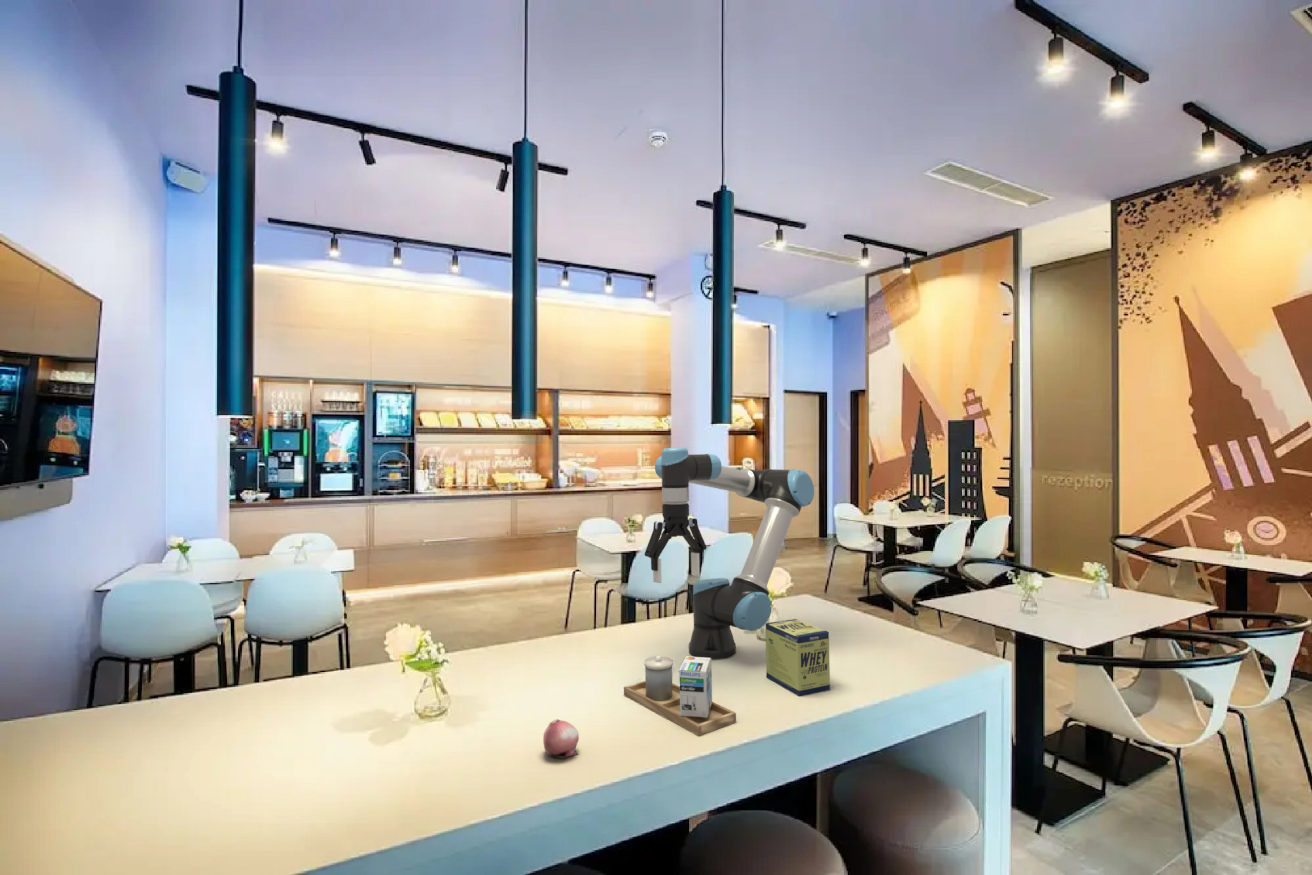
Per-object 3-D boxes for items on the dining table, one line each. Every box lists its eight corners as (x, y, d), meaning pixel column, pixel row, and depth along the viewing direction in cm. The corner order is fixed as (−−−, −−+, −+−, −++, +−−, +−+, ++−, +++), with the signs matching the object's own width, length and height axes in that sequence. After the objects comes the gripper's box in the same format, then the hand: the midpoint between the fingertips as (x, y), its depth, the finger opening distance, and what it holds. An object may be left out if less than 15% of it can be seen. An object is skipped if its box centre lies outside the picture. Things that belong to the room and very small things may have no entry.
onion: (544, 751, 135) (549, 716, 138) (579, 755, 135) (583, 719, 138) (537, 757, 128) (542, 719, 130) (575, 760, 128) (579, 722, 130)
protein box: (799, 697, 161) (798, 636, 161) (765, 677, 175) (764, 622, 176) (831, 690, 165) (830, 631, 166) (795, 671, 179) (794, 617, 180)
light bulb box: (707, 718, 144) (707, 671, 144) (679, 716, 145) (678, 670, 145) (712, 700, 154) (712, 656, 154) (686, 698, 155) (685, 655, 156)
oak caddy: (659, 685, 171) (658, 676, 171) (736, 722, 146) (735, 712, 146) (623, 695, 164) (623, 686, 164) (698, 736, 140) (698, 726, 140)
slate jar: (661, 688, 166) (661, 649, 167) (679, 696, 160) (678, 656, 161) (639, 695, 162) (638, 655, 162) (656, 703, 156) (655, 662, 156)
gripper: (700, 499, 184) (701, 571, 183) (631, 504, 169) (632, 583, 168) (717, 500, 178) (719, 575, 177) (647, 506, 163) (648, 587, 162)
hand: (676, 579), depth 173 cm, fingers open, 13 cm apart
